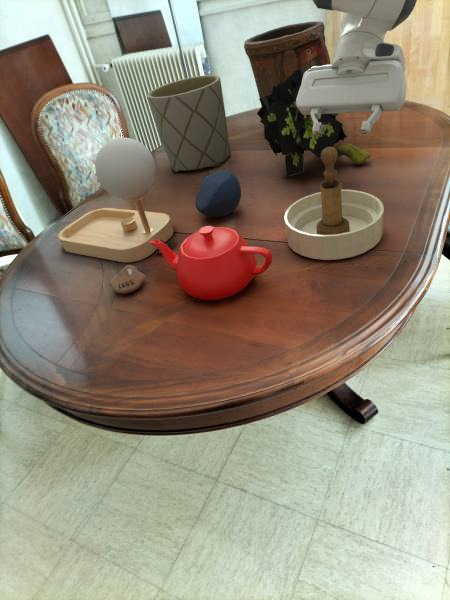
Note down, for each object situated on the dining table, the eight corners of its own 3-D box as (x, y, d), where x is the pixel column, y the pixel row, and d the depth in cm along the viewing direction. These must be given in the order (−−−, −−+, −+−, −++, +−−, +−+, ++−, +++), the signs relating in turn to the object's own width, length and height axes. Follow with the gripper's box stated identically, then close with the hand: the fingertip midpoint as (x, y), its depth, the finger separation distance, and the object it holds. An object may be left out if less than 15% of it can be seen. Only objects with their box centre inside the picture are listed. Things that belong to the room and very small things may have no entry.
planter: (239, 144, 145) (225, 70, 131) (228, 170, 128) (211, 88, 114) (178, 153, 151) (159, 83, 137) (159, 179, 134) (135, 102, 120)
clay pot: (306, 147, 130) (297, 36, 112) (242, 138, 150) (226, 43, 131) (354, 119, 141) (353, 15, 123) (289, 115, 161) (279, 23, 143)
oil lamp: (159, 280, 89) (134, 273, 94) (155, 263, 87) (129, 257, 92) (128, 300, 83) (103, 292, 88) (123, 283, 81) (97, 275, 86)
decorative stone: (230, 199, 112) (222, 162, 106) (253, 212, 103) (246, 174, 97) (191, 215, 109) (181, 179, 103) (212, 231, 100) (203, 192, 94)
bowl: (380, 211, 91) (381, 185, 88) (385, 261, 77) (386, 233, 73) (292, 217, 97) (289, 193, 93) (282, 264, 83) (278, 238, 79)
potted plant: (365, 153, 121) (311, 57, 113) (380, 160, 100) (315, 43, 93) (301, 195, 128) (246, 107, 121) (302, 209, 107) (237, 104, 100)
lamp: (56, 250, 109) (6, 155, 94) (101, 218, 120) (63, 128, 104) (151, 268, 92) (109, 156, 77) (193, 228, 103) (164, 123, 87)
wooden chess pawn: (330, 246, 83) (325, 158, 72) (310, 234, 88) (303, 150, 77) (356, 233, 85) (355, 145, 74) (335, 222, 90) (331, 138, 79)
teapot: (287, 262, 83) (280, 207, 76) (264, 314, 72) (253, 255, 65) (178, 258, 93) (162, 209, 86) (144, 302, 82) (123, 250, 75)
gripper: (299, 58, 82) (284, 126, 82) (410, 44, 72) (392, 123, 72) (310, 76, 88) (295, 140, 87) (414, 66, 77) (398, 139, 77)
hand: (340, 132), depth 79 cm, fingers open, 8 cm apart
